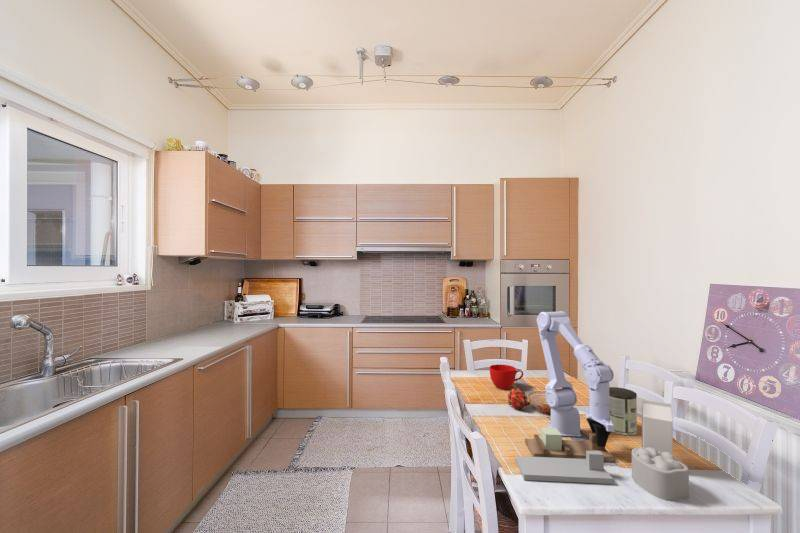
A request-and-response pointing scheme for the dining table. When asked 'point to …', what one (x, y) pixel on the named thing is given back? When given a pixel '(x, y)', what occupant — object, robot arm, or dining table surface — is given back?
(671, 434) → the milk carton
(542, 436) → the cube
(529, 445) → the walnut strip
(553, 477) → the slate strip
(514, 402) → the dragon fruit
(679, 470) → the lumpy-topped squat cylinder
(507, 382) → the ceramic cup
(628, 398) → the coffee can
